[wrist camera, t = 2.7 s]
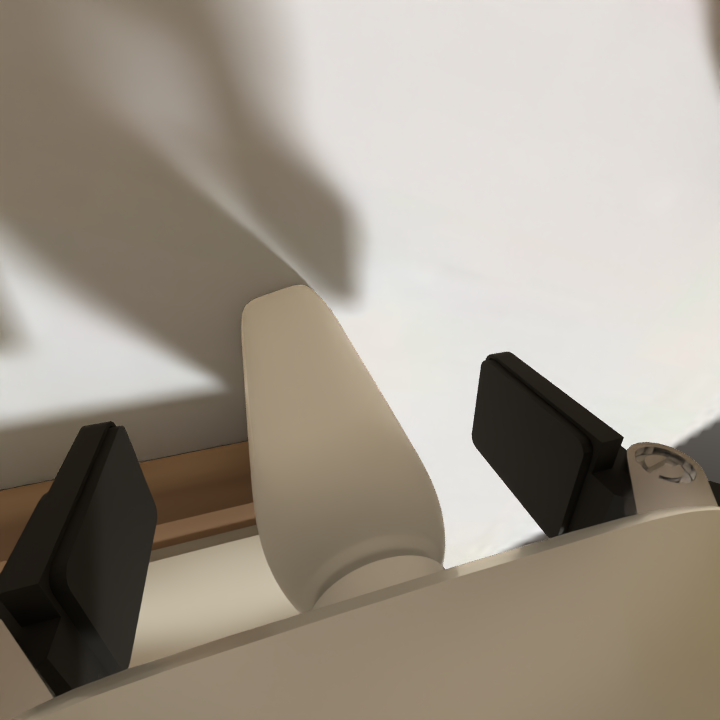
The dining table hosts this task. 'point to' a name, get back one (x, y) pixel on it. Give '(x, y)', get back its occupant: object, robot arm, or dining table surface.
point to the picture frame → (188, 552)
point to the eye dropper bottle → (329, 460)
